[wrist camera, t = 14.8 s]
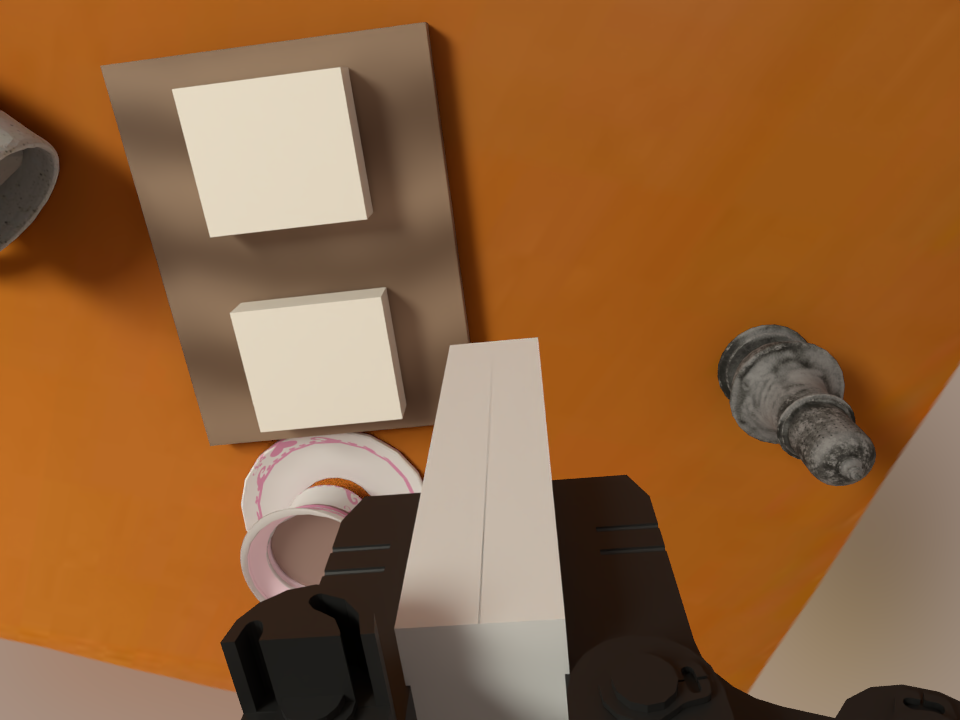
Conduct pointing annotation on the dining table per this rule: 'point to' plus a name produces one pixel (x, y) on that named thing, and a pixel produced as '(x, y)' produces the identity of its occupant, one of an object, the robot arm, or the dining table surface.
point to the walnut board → (311, 249)
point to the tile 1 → (275, 151)
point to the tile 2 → (320, 359)
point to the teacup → (310, 504)
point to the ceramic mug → (23, 177)
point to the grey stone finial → (795, 402)
